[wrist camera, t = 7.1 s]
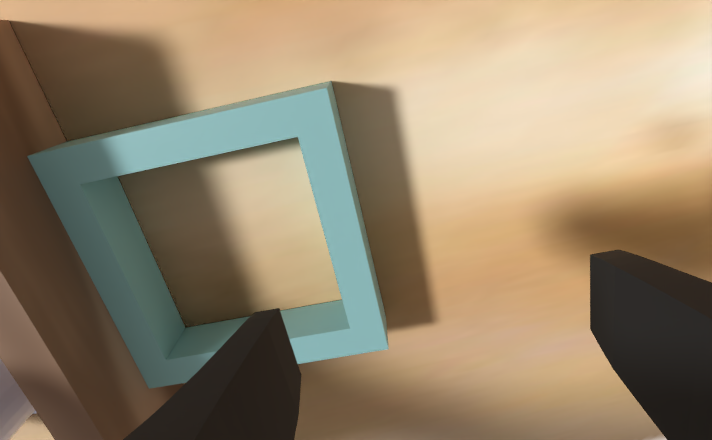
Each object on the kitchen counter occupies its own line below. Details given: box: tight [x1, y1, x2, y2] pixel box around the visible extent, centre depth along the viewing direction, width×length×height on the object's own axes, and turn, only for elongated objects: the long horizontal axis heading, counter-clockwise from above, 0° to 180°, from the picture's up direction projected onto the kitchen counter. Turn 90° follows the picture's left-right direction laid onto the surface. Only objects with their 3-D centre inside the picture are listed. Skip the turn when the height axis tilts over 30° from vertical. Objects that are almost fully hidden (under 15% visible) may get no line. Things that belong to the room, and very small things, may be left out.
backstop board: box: [0, 20, 184, 440], centre depth 19 cm, size 2×22×6 cm, turn 12°
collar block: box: [27, 81, 388, 389], centre depth 20 cm, size 12×12×2 cm
